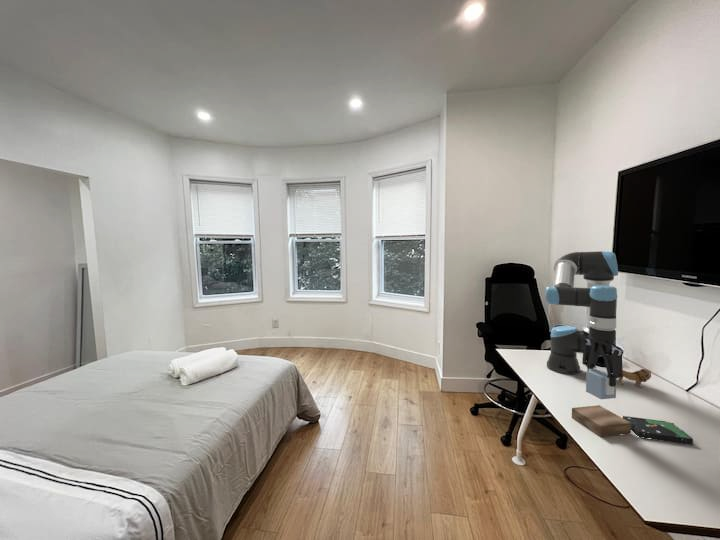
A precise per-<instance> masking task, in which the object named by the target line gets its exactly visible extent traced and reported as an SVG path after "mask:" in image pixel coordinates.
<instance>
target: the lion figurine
mask: <svg viewBox="0 0 720 540" xmlns="http://www.w3.org/2000/svg"><path fill="white" fill-rule="evenodd" d="M622 370H623V377H622V378H618V379H616V382H619V384H620V385H621V384H622V385H621V386H625V383H623V382H622V381H623V379H624V378H625V379H628V380H629V381H635V384H634V385H635V386H636V385H637V386H636V387H637V388H638V389H640V388H642V387H641V385H642V383H646V382H647V381H649V380H651V378H652V373H651V372H652V371H651V370H649V369H647V368H641V369H639V370H635V371H633V372H631V371H630V372H629V371H627V370H625V369H622Z"/></svg>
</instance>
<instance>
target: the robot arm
mask: <svg viewBox="0 0 720 540" xmlns="http://www.w3.org/2000/svg"><path fill="white" fill-rule="evenodd" d="M618 268H619V267H618V261H617V256H616V253H614V252H612V251H602V250H601V251H575V252H573V251H572V252H569V253H567V254H564V255H562V256H561V257H560V258H558V259H557V260H556V261H555V263H554V265H553V272H554V277H553V283H552V285H551V286H547V287H546V288H545V302H546V303H547V304H548V305H556V306H574V307H586V316H585V317H586V318H585V326H582V328H581V329H582V330H578V328H577V327H575V326H572V325H558V326H554V327H552V329H551V330H550V353H549V356H548V359H547V361H546V367H547V369H549V370H551V371H552V372H556V373H560V374H565V375H578V374H580V373H581V366H580V363H579V361H578V358H577V354H578V353H579V354H582V361H581V363H582V365H583V366H586V368H587V370H586V371H592V370H598V369H597V366H596V365H597V363H598V359H599V357H602V358H603V361H604V364H605V369H606V372H607V373H608V376H606V388H605V394H606V395H612V394H614V387H615V386H616V387H617V381H616V380H617V379H619V378H622V377H623V370H624V369H623V355H624V353H625V351H624V350H623V349H619V348H617V347H616V345H615V344H616V340H617V331H616V329H617V306H618V305H617V304H618V302H617V301H618V289H617V288H616V286H611V285H610V283H611V282H613V281H614V280H615V279H614V278H615V277H617V276H619V269H618ZM575 275H576V276H583V279H584V280H585V281H586V287H576V286H575V285H574V284H575ZM623 378H624V377H623Z"/></svg>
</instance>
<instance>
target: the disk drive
mask: <svg viewBox="0 0 720 540" xmlns="http://www.w3.org/2000/svg"><path fill="white" fill-rule="evenodd" d="M622 418H623V419H625V420H627V421H629V422H630V423H631V430H632V431H633V432H634V433H635V434H636V435H637V436H639V437H644V438H643V439H646V438H651V439H650V440H653V439H657V440H656V441H660V440H663V441H662V442H667V441H668V443H675V444H682V445H687V446H688V445H689V446H694V438H692V436H690V435H689V434H688V433H687V432H685V431H684V430H683V429H681V428H680V427H679V426H677V425H676V424H675V423H674V422H670V421H665V420H657V419H648V418H643V417H635V416H629V415H628V416H627V415H622ZM632 431H631V432H632ZM633 432H632V433H633ZM634 433H633V434H634ZM635 434H634V435H635ZM636 435H635V436H636ZM637 436H636V437H637ZM639 437H638V438H639Z"/></svg>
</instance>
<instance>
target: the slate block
mask: <svg viewBox="0 0 720 540" xmlns="http://www.w3.org/2000/svg"><path fill="white" fill-rule="evenodd" d="M585 376H586V377H585V378H586V380H585V392H586V393H588V394H590V395H592V396H594V397H595V398H597V399H600V400H609V399H617V385H616V386H615V387H614V394H612V395H606V394H605V388H606V376H608V373H607V371H605V370H602V369H597V370H592V371H587V370H586V374H585Z"/></svg>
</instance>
